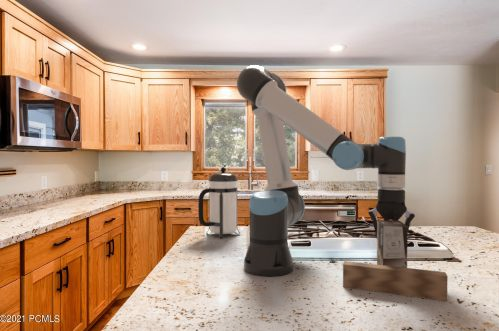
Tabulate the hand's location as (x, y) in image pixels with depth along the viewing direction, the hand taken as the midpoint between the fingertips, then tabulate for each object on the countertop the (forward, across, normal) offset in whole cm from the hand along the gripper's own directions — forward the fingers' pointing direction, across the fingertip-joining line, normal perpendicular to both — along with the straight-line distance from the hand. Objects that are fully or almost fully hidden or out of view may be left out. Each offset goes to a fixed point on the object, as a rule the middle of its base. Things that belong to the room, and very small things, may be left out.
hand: (390, 267), depth 100 cm
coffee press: (+2, -68, +24) cm, 72 cm away
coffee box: (+2, 0, -8) cm, 8 cm away
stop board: (+1, 0, -16) cm, 16 cm away
